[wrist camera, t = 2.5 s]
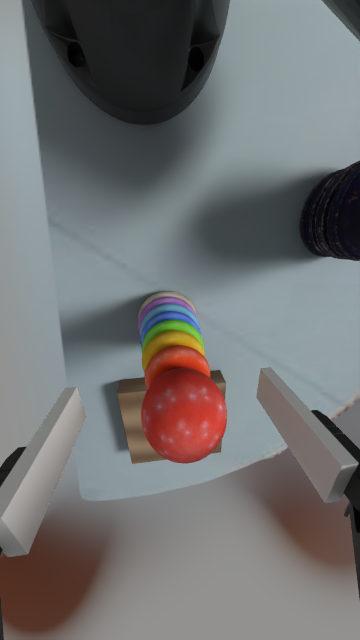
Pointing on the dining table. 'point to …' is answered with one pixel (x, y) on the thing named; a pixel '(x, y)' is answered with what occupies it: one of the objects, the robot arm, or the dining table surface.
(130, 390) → the walnut base
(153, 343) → the stacking toy
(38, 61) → the dining table surface
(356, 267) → the dining table surface
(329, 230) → the storage jar
